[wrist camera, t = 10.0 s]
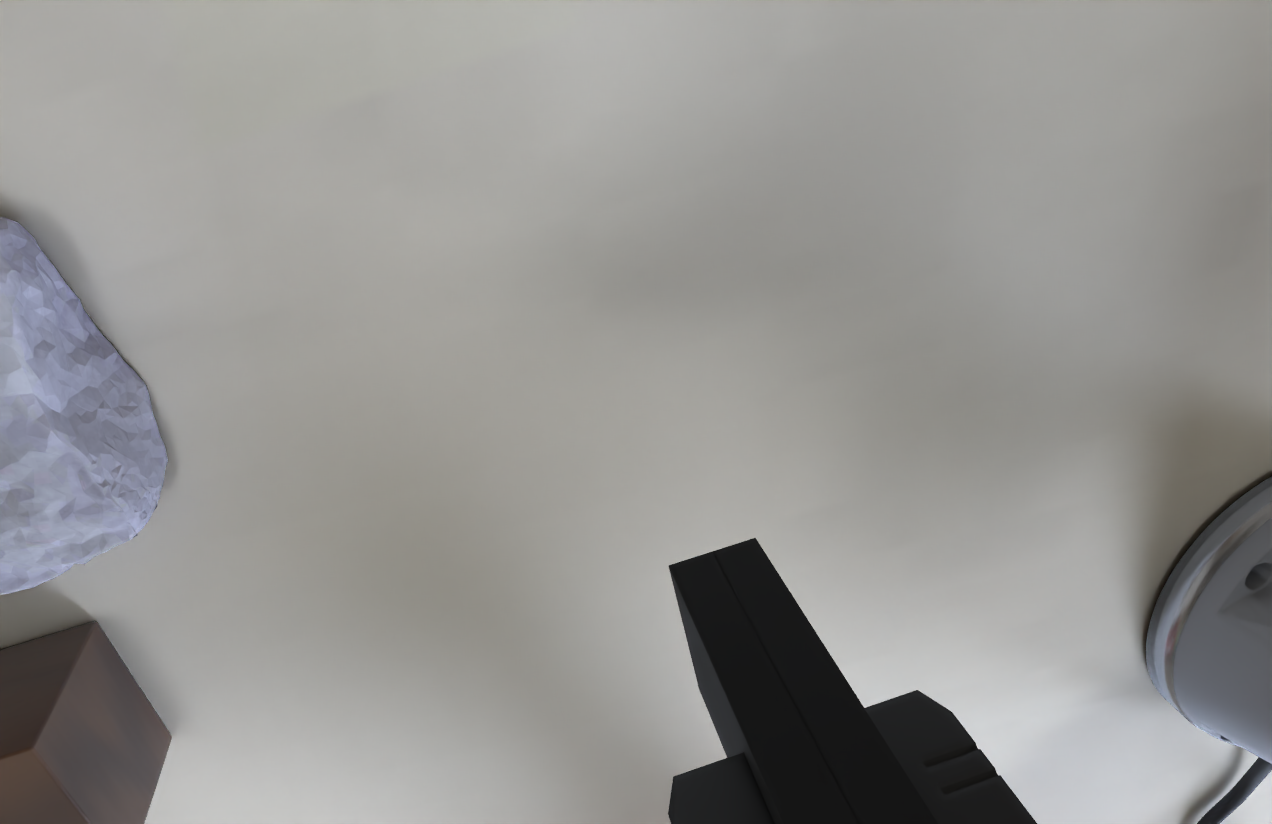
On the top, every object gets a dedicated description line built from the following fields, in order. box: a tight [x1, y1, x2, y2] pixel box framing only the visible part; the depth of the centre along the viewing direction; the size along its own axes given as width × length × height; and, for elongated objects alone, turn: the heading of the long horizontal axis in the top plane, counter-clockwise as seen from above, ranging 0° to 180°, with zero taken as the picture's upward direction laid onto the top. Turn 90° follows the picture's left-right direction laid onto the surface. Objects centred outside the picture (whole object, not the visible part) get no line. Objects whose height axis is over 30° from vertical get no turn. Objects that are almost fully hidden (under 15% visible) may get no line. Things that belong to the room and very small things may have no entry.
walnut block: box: [0, 621, 172, 824], centre depth 26 cm, size 6×6×6 cm
